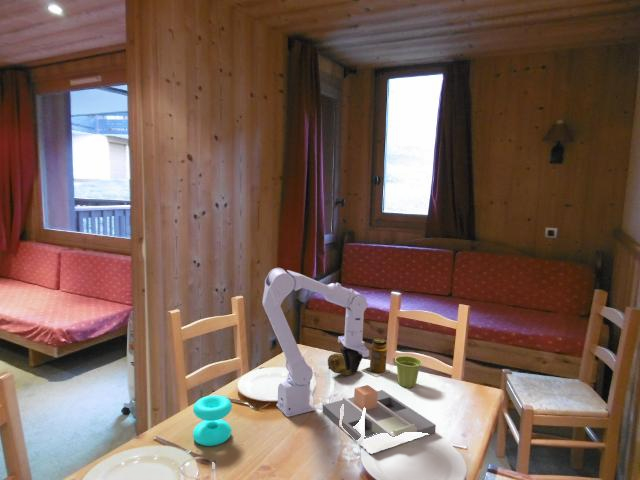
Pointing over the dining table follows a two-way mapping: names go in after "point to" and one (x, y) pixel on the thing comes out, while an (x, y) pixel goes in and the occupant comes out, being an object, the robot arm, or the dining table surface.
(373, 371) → the condiment
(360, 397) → the terracotta block
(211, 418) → the donuts
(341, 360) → the potato
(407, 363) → the plant pot
